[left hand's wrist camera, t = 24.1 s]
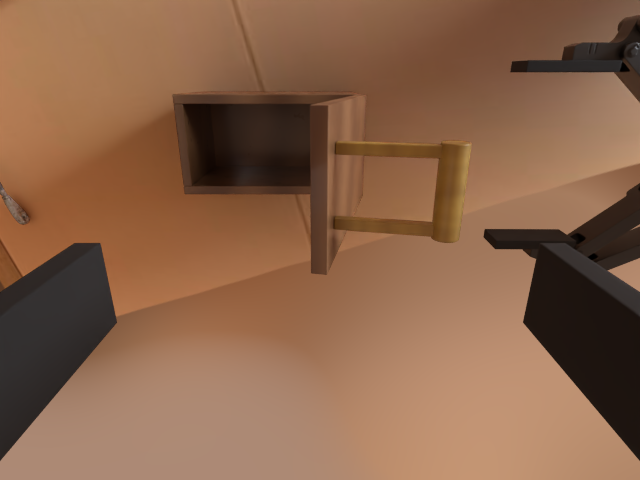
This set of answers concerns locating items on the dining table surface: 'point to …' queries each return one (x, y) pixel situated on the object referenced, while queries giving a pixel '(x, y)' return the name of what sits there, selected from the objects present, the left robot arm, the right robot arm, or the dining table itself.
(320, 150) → the lid
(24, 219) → the putty knife
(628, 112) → the dining table surface
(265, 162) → the chest
